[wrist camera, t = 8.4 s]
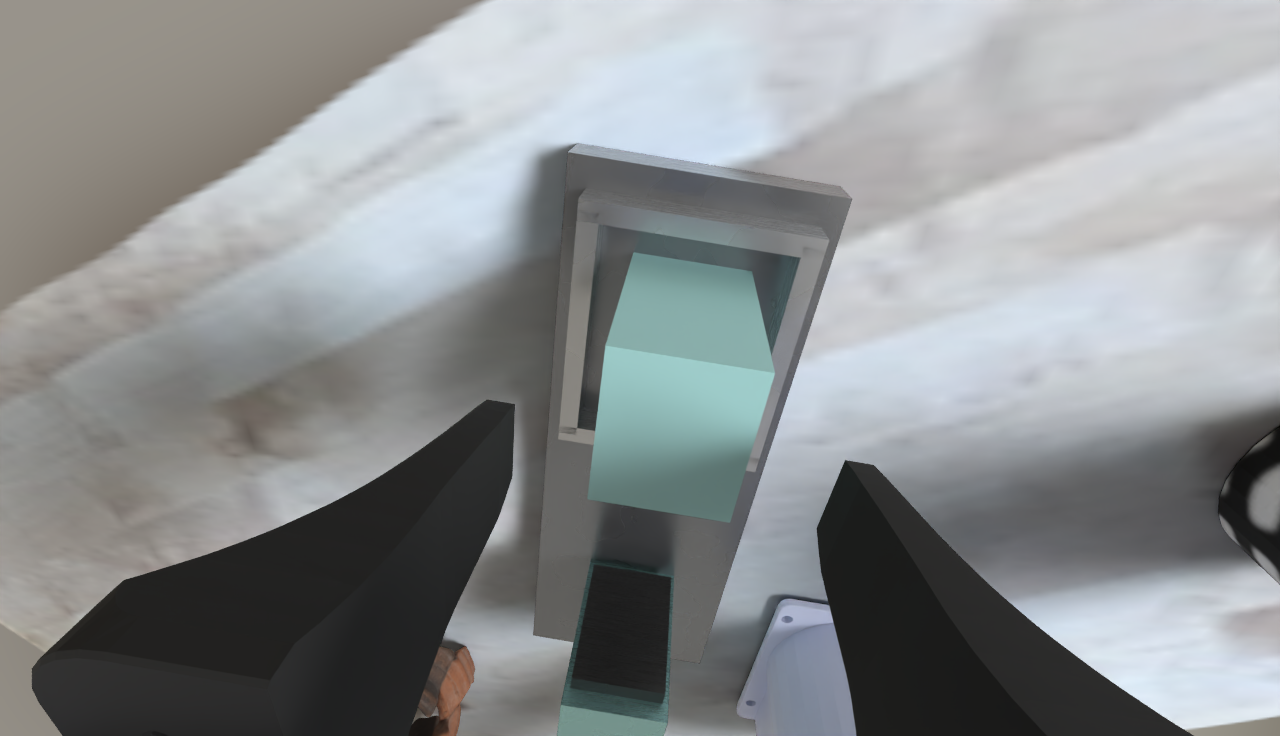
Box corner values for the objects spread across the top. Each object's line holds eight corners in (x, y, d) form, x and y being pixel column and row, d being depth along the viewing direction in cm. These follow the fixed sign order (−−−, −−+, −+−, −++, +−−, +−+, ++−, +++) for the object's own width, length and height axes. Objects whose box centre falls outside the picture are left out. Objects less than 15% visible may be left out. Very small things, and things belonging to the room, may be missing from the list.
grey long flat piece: (699, 634, 28) (700, 812, 22) (540, 607, 28) (494, 776, 22) (840, 186, 17) (926, 277, 11) (577, 143, 17) (504, 208, 11)
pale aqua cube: (633, 252, 17) (605, 345, 12) (752, 271, 17) (774, 372, 12) (615, 390, 20) (585, 516, 14) (718, 407, 20) (725, 539, 14)
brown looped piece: (279, 627, 32) (206, 732, 24) (438, 548, 34) (419, 620, 26) (380, 790, 34) (344, 934, 26) (525, 707, 36) (532, 820, 28)
